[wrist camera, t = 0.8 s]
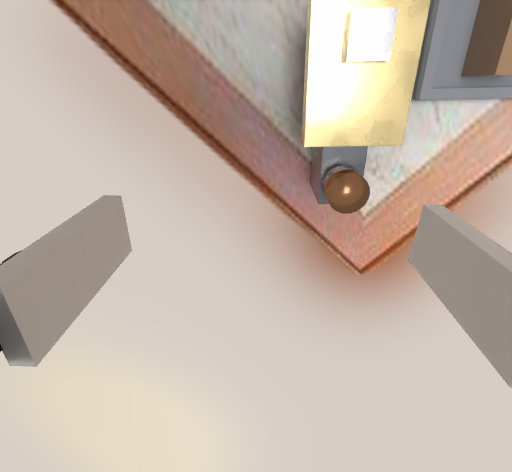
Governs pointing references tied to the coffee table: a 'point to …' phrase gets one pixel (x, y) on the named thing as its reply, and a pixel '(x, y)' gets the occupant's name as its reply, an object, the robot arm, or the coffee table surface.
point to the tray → (466, 51)
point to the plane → (340, 177)
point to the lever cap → (360, 70)
